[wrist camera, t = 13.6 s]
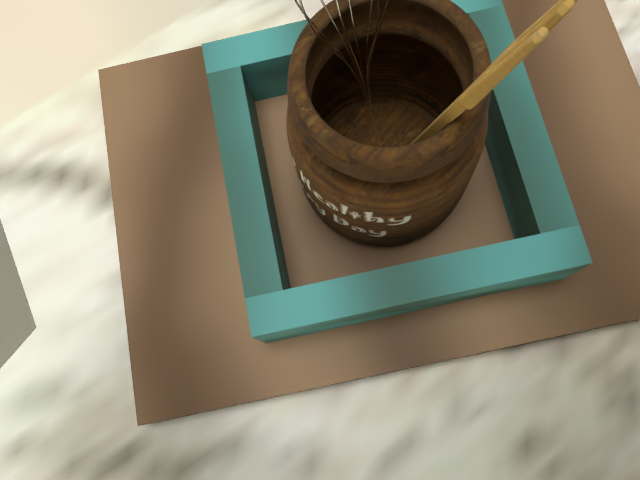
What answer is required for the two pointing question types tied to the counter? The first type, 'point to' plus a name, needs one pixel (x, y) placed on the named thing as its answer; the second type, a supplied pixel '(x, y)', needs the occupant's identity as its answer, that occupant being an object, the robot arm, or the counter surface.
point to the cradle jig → (352, 257)
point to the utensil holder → (393, 111)
